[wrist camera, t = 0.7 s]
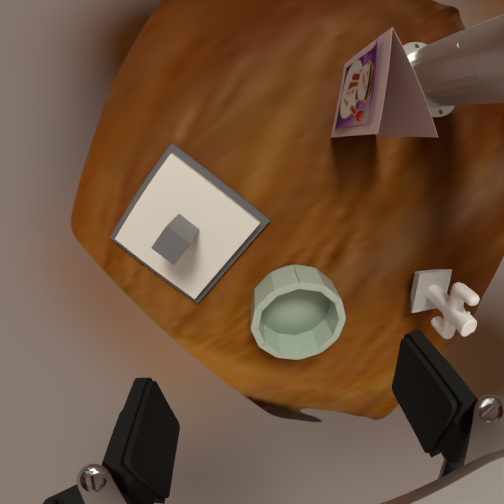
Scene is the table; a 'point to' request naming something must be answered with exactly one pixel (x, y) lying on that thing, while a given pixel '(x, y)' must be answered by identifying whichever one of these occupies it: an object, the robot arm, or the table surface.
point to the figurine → (444, 301)
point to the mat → (219, 185)
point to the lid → (185, 227)
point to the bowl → (296, 312)
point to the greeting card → (382, 94)
